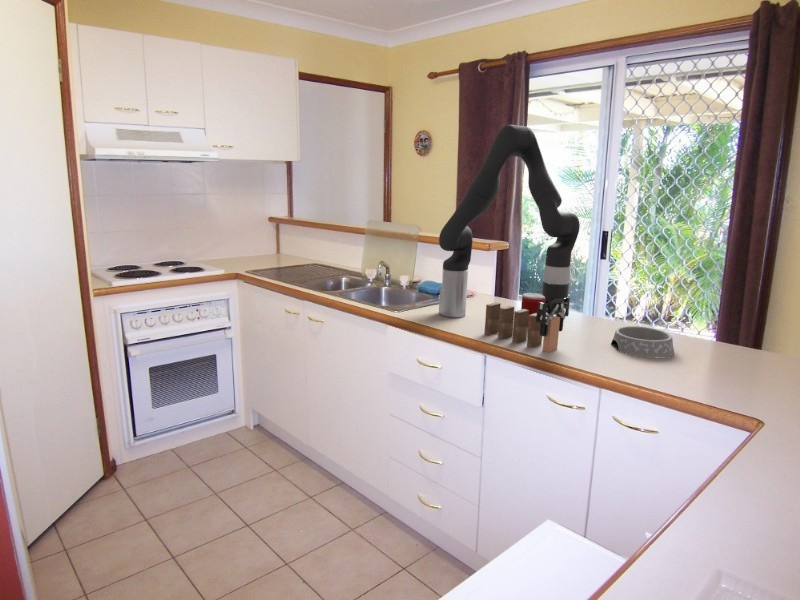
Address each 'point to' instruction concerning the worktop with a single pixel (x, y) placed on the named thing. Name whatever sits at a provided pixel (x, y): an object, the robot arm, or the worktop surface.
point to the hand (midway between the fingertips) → (551, 333)
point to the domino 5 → (552, 335)
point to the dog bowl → (644, 341)
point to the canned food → (531, 302)
